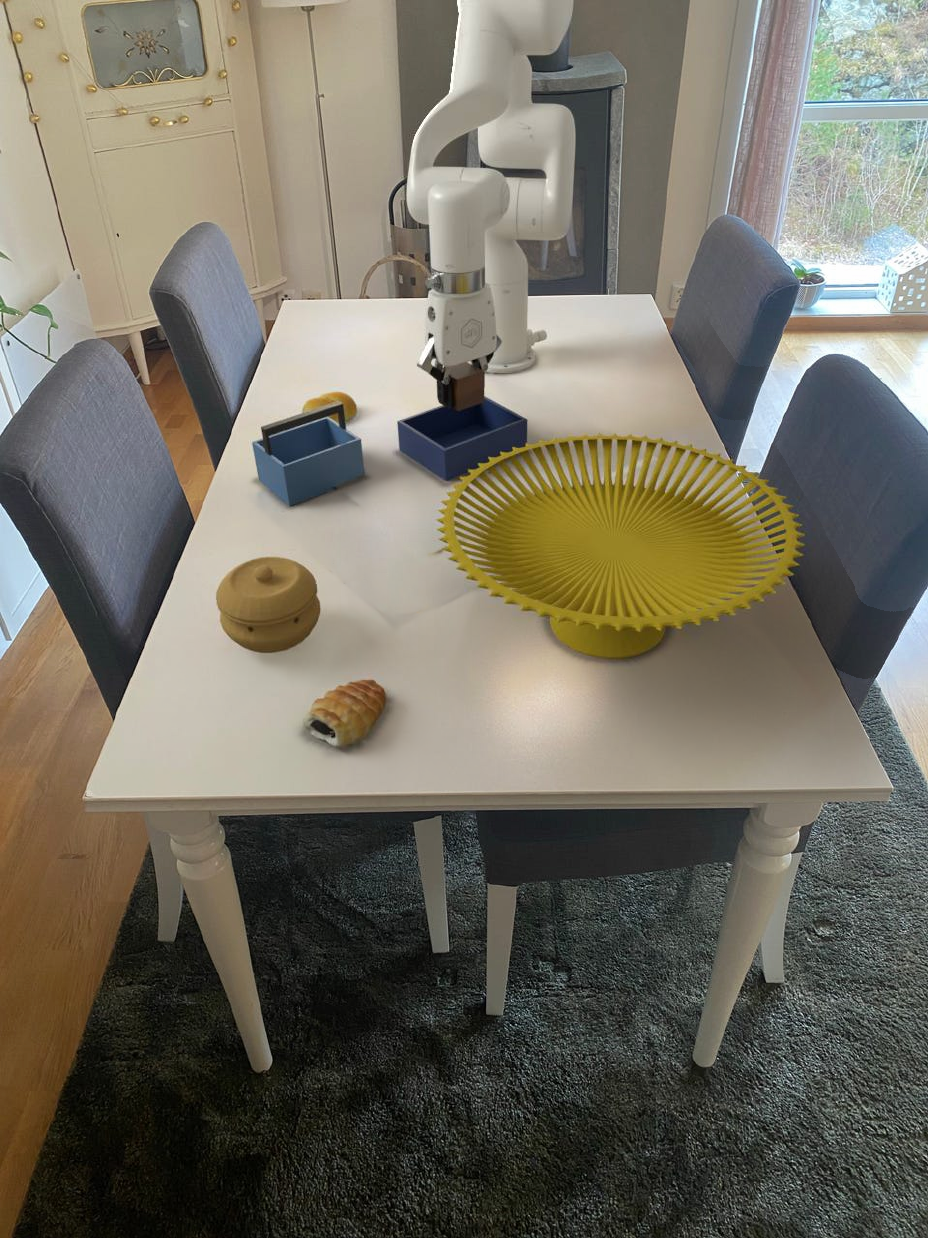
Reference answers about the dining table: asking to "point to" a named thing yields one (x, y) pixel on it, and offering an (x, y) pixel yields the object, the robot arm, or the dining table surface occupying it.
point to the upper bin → (308, 454)
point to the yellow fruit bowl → (618, 543)
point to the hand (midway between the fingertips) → (461, 398)
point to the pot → (268, 604)
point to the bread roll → (333, 397)
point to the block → (467, 386)
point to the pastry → (346, 713)
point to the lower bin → (461, 437)
